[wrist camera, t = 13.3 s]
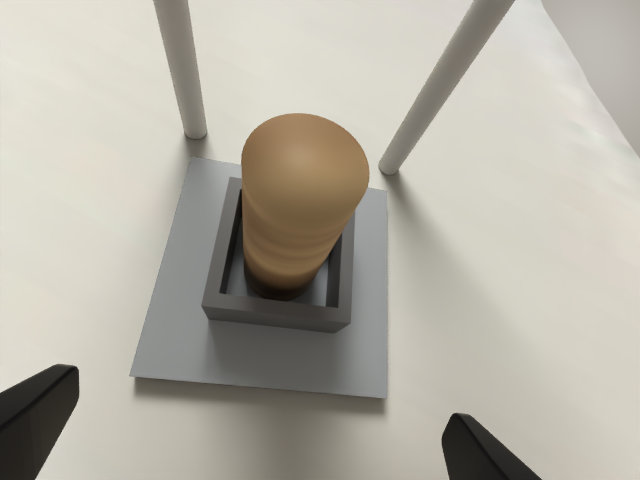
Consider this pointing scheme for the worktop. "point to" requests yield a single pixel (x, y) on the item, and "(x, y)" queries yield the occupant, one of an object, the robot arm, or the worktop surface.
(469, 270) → the worktop surface
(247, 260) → the tan domed cylinder
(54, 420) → the robot arm
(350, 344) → the awning socket
